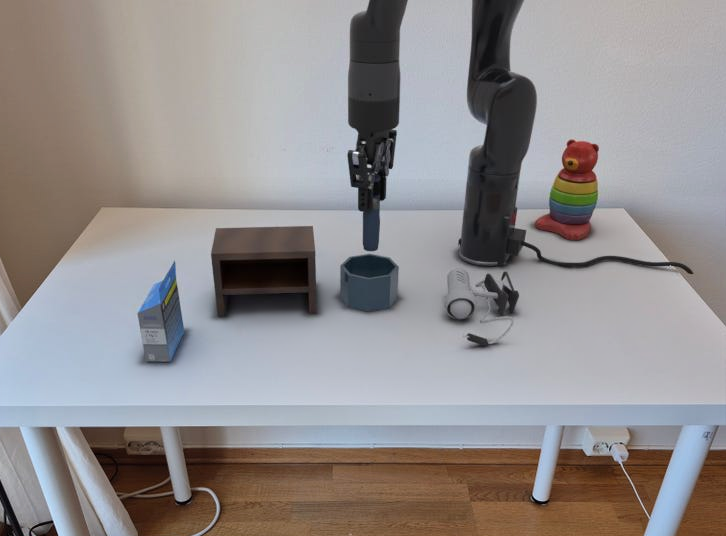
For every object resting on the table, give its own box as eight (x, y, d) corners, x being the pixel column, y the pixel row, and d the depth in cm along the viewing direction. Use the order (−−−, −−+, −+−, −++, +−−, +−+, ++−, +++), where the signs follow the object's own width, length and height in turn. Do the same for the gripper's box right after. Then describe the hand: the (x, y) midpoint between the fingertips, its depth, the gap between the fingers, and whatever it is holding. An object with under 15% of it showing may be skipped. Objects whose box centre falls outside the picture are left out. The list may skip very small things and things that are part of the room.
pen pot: (402, 292, 122) (404, 260, 118) (383, 315, 115) (384, 282, 111) (355, 281, 125) (355, 250, 121) (333, 304, 118) (333, 271, 114)
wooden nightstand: (314, 285, 123) (312, 225, 117) (316, 313, 115) (315, 250, 109) (222, 288, 122) (215, 228, 116) (217, 317, 114) (210, 253, 107)
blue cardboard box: (160, 331, 110) (149, 258, 103) (185, 331, 110) (175, 259, 103) (144, 362, 102) (131, 287, 96) (171, 363, 102) (159, 287, 96)
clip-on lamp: (519, 363, 108) (507, 288, 121) (531, 334, 104) (517, 259, 116) (444, 356, 108) (439, 280, 120) (452, 326, 103) (446, 251, 116)
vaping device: (380, 239, 116) (381, 167, 110) (378, 252, 112) (379, 179, 105) (364, 238, 117) (365, 167, 110) (362, 252, 112) (362, 178, 106)
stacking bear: (530, 226, 146) (544, 140, 137) (557, 214, 152) (573, 131, 142) (575, 242, 140) (593, 153, 130) (602, 229, 146) (621, 143, 136)
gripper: (379, 106, 94) (377, 225, 104) (415, 84, 105) (410, 193, 115) (329, 101, 97) (331, 217, 106) (369, 80, 108) (368, 187, 117)
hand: (372, 204), depth 111 cm, fingers closed on vaping device, 5 cm apart
